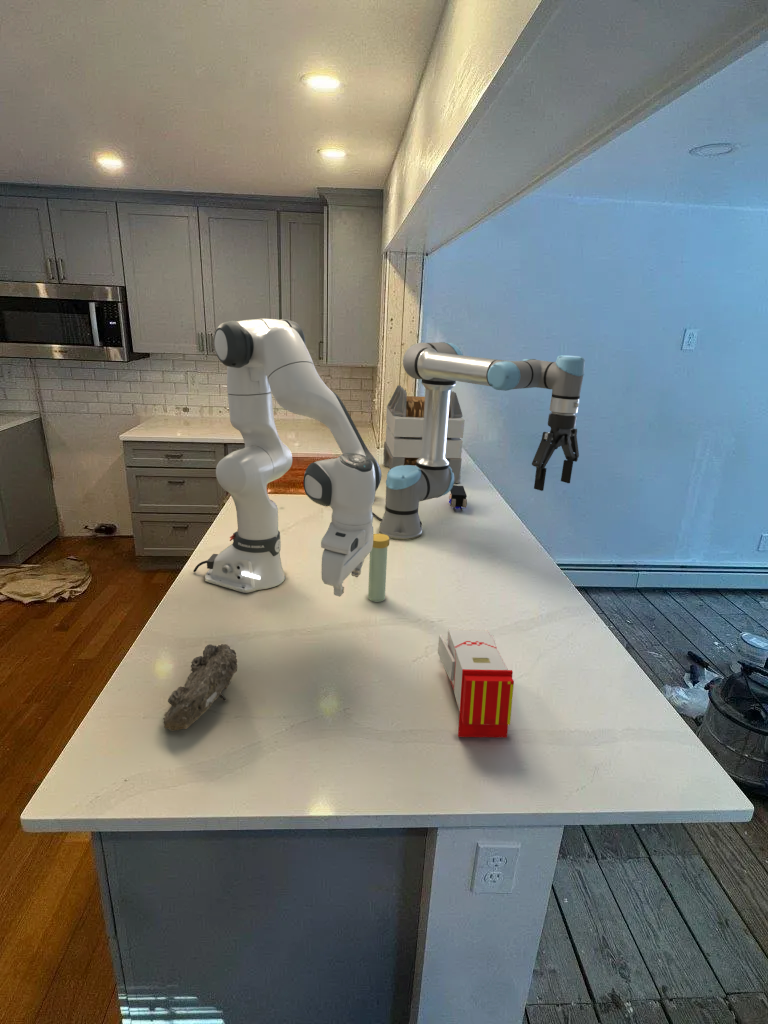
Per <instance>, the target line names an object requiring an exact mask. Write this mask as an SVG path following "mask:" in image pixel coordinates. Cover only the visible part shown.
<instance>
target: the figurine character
mask: <svg viewBox="0 0 768 1024" xmlns="http://www.w3.org/2000/svg"><path fill="white" fill-rule="evenodd" d="M467 495H468V494H467V493H466V490H465V487H464V485H456V484H455V485H454V484H453V487H452V489H451V490H450V491H449V496H448V499H449V500H448V504H449V506H450V507H451V508H452V510H453V512H456V510H458V509H459V510H460V512H463V509H464V508H465V509H466V508H467V506H468V499H467V497H468V496H467Z"/></svg>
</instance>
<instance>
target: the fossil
mask: <svg viewBox="0 0 768 1024" xmlns="http://www.w3.org/2000/svg"><path fill="white" fill-rule="evenodd" d="M237 657H238V655H237V652H236V651H235V650H234V648H233V649H232V648H231V646H229V645H228V644H226V643H225V644H218V645H214V644H209V643H208V644H206V645H205V646H204V649H203V650H202V655H199V656H195V657H194V658H193V659H191V662H190V671H191V673H190V674H189V675H188V677H187V678H186V681H185V683H184V686H178V687H177V688H176V690H173V692H172V693H171V694H170V695H169V697H168V699H167V703H168V704H169V705H170V707H168V710H167V711H166V712H165V713H164V715H163V716H164V717H163V718H162V720H163V722H162V723H163V727H164V728H165V729H168V730H169V731H171V732H174V731H179V730H183V729H184V730H187V729H189V727H190V726H192V724H194V723H195V721H197V720H198V719H200V718H201V716H202V715H203V714H204V713H206V712H207V711H208V709H211V707H212V705H213V704H214V701H216V700H217V699H218V698H219V697H220V699H221V700H223V701H224V702H225V701H227V698H226V697H225V696H224V695H223V694H222V691H223V690H226V689H227V688H228V687H229V685H230V684H231V681H232V679H233V678H234V675H235V674H236V673H237V672H238V658H237Z"/></svg>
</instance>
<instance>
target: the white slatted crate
mask: <svg viewBox="0 0 768 1024" xmlns="http://www.w3.org/2000/svg"><path fill="white" fill-rule="evenodd" d="M407 394H408V393H407V390H406V389H404V388H403V387H402V385H399V384H398V385H397V386H396V388H395V390H394V392H393V394H392V395H391V398H390V400H389V402H388V404H387V405H386V413H385V414H386V415H385V423H386V428H385V438H384V442H383V466H384V467H388V468H389V470H390V469H392V468H394V467H396V466H401V465H404V466H405V465H413V466H416V461H417V459H418V458H420V457H421V449H422V434H423V419H424V404H425V396H415V395H414V396H413V395H412V396H411V395H407ZM464 429H465V419H464V418H463V411H462V408H461V405H460V402H459V398H458V395H457V392H455V391H453V390H451V392H450V404H449V416H448V428H447V441H446V453H445V458H446V459H447V461H448V462H449V466H450V467H451V469H452V473H454V484H455V483H456V484H459V483H461V472H462V461H463V460H462V453H463V442H464V441H463V440H462V439H463V438H464V431H465V430H464Z"/></svg>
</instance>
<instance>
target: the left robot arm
mask: <svg viewBox="0 0 768 1024" xmlns="http://www.w3.org/2000/svg"><path fill="white" fill-rule="evenodd" d="M213 346H214V351H215V355H216V357H217V358H218V360H219V362H221V363H222V364H223V365H224V366H226V393H227V401H228V413H229V421H230V424H231V425H232V427H233V428H234V429H236V430H237V431H239V433H240V435H241V436H242V439H243V443H244V447H243V448H240V449H237V450H234V451H231V452H230V453H228V454H227V455H225V456H224V457H223V458H221V459H220V460H219V461H218V462H217V464H216V467H215V477H216V481H217V483H218V485H219V486H220V487H221V488H222V489H223V490H224V491H225V492H226V493H228V494H229V495H230V496H231V498H232V500H233V502H234V506H235V511H236V520H237V521H236V522H237V523H236V524H237V530H236V531H235V532H233V533H232V534H231V536H229V542H232V543H231V544H230V545H228V546H227V547H226V548H224V549H223V550H221V551H220V552H219V553H213V554H211V555H210V557H209V558H208V559H207V560H204V561H203V560H202V561H201V562H199V563H198V564H196V565H195V568H194V569H193V570H192V571H193V573H196V572H197V571H198V569H199V567H201V566H202V565H206V569H208V571H207V572H206V573H205V575H204V581H205V582H206V583H209V584H213V585H216V586H220V587H222V588H227V589H230V590H233V591H237V592H240V593H244V594H248V593H252V592H255V591H260V590H267V589H272V588H274V587H277V586H280V585H281V584H282V583H283V582H284V581H285V580H286V574H285V571H284V568H283V564H282V559H281V545H282V544H281V543H282V541H281V532H280V530H279V508H278V505H277V504H276V502H275V501H273V500H272V499H271V498H270V497H269V494H268V489H267V488H268V484H269V483H271V482H274V481H277V480H279V479H280V478H282V477H283V476H285V474H286V473H287V472H288V471H289V470H290V469H291V467H292V465H293V454H292V452H291V449H290V448H289V446H288V445H286V444H285V443H284V442H283V441H282V439H281V436H280V435H279V431H278V429H277V427H276V422H275V416H274V405H273V398H274V400H275V401H276V402H277V404H278V405H279V406H280V407H281V408H283V409H284V410H285V411H287V412H290V413H292V414H295V415H299V416H302V417H303V416H304V417H307V418H310V419H313V420H315V421H318V422H319V423H321V424H323V425H325V426H326V427H327V428H328V429H329V431H330V432H331V435H332V436H333V438H334V441H335V442H336V444H337V446H338V448H339V449H340V452H341V453H342V454H340V455H339V456H338V457H333V458H327V459H321V460H316V461H314V462H311V463H309V464H308V466H307V468H305V471H304V474H303V480H302V481H303V483H302V485H303V490H304V493H305V495H306V496H307V498H309V500H311V501H312V502H313V503H315V504H318V505H319V506H323V507H330V508H331V510H332V513H331V522H329V526H328V529H327V530H326V532H325V533H324V535H323V537H322V539H321V541H320V547H321V548H322V549H323V551H322V555H321V581H322V582H323V584H324V585H327V586H331V587H333V595H334V596H336V597H342V596H343V594H344V593H345V586H343V583H344V581H345V580H346V579H347V578H348V577H349V576H350V575H351V576H352V577H355V578H358V577H359V576H360V575H362V567H363V565H364V561H365V559H366V557H367V556H368V555H370V552H371V550H372V547H373V534H374V526H373V522H374V515H373V513H374V512H373V505H374V502H375V499H376V493H375V492H377V491H378V489H379V487H380V485H381V481H382V469H381V467H380V464H379V462H378V461H377V459H376V458H375V457H374V455H373V454H372V453H371V452H370V450H369V449H368V447H367V445H366V443H365V442H364V439H363V438H362V436H361V434H360V432H359V430H358V429H357V426H356V424H355V422H354V420H353V419H352V416H351V415H350V413H349V411H348V410H347V408H346V406H345V404H344V403H343V401H342V399H341V398H340V396H339V395H338V394H337V393H336V392H334V391H332V390H331V388H329V387H328V386H327V384H326V383H325V382H324V381H323V379H322V378H321V376H320V375H319V372H318V371H317V368H316V366H315V364H314V361H313V358H312V356H311V353H310V352H309V350H308V347H307V345H306V336H305V333H304V330H303V329H302V327H301V326H300V325H299V323H298V322H296V321H293V320H290V319H285V318H282V319H275V318H261V317H260V318H256V319H255V318H253V319H243V320H238V321H237V320H234V319H233V320H228V321H224V322H221V323H220V324H219V325H218V326H217V328H216V330H215V332H214V336H213ZM372 512H373V513H372Z"/></svg>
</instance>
